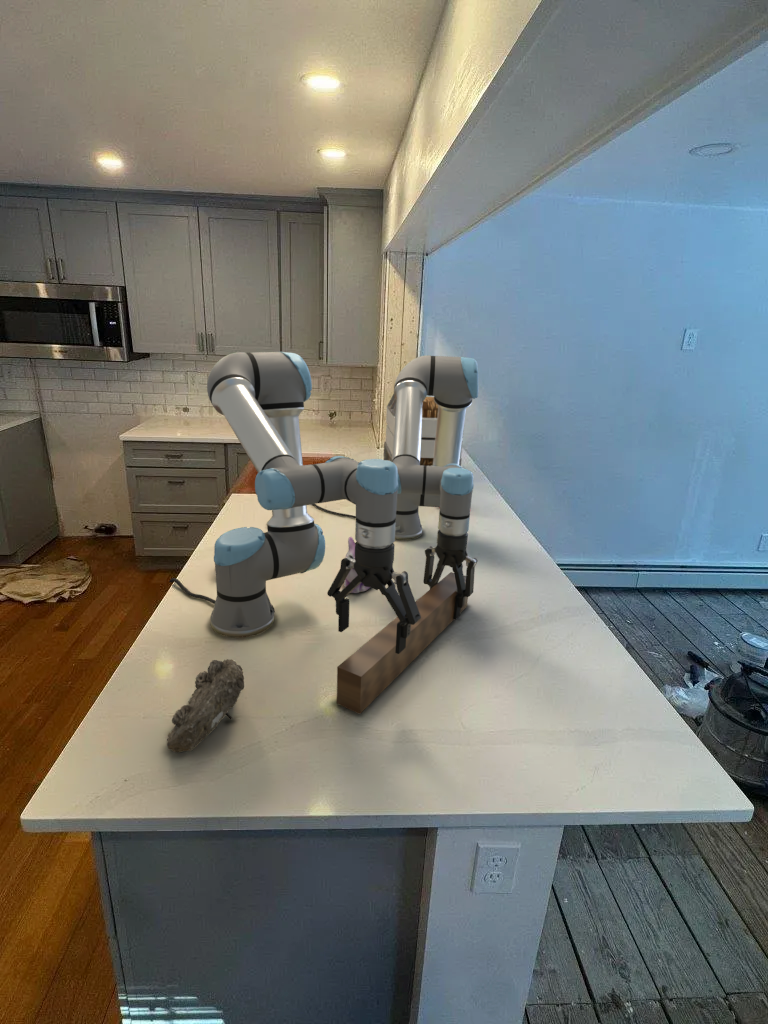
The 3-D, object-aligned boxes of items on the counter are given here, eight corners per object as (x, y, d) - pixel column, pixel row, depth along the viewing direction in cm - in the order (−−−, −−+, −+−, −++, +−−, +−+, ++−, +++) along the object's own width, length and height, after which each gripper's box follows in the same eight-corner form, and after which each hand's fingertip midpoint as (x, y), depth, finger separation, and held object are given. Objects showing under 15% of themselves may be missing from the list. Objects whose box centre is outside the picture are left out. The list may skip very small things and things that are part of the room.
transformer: (382, 463, 289) (386, 382, 275) (445, 464, 293) (451, 384, 279) (390, 482, 257) (394, 392, 243) (460, 483, 261) (468, 394, 247)
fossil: (192, 660, 117) (244, 628, 112) (224, 691, 120) (276, 661, 115) (142, 746, 98) (202, 712, 93) (182, 779, 101) (242, 748, 96)
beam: (448, 600, 156) (450, 571, 153) (467, 606, 153) (470, 577, 150) (336, 703, 113) (337, 666, 110) (359, 714, 111) (361, 676, 108)
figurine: (350, 597, 154) (351, 546, 149) (335, 581, 163) (336, 533, 158) (381, 591, 159) (383, 541, 153) (365, 576, 167) (367, 528, 162)
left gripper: (310, 533, 110) (310, 628, 117) (424, 565, 98) (417, 669, 105) (333, 522, 116) (332, 613, 123) (443, 551, 104) (435, 650, 111)
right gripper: (412, 527, 141) (407, 608, 149) (482, 544, 132) (473, 630, 140) (426, 518, 147) (420, 597, 155) (494, 535, 139) (484, 618, 146)
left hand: (371, 639), depth 114 cm, fingers open, 13 cm apart
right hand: (445, 613), depth 148 cm, fingers closed on beam, 6 cm apart
